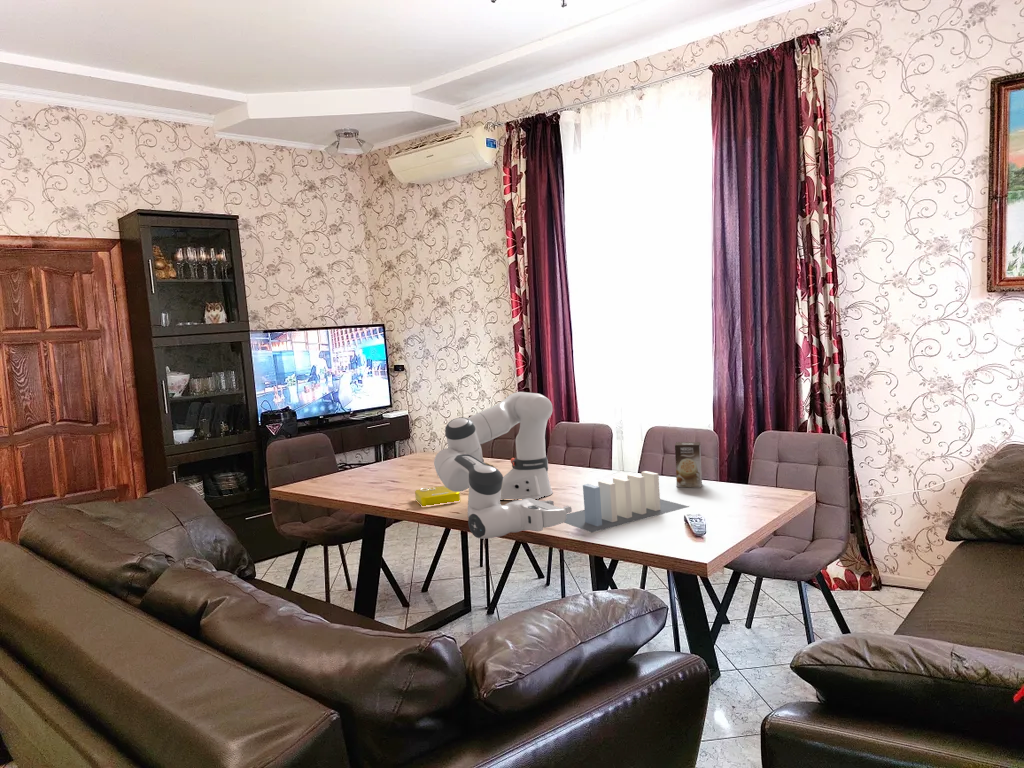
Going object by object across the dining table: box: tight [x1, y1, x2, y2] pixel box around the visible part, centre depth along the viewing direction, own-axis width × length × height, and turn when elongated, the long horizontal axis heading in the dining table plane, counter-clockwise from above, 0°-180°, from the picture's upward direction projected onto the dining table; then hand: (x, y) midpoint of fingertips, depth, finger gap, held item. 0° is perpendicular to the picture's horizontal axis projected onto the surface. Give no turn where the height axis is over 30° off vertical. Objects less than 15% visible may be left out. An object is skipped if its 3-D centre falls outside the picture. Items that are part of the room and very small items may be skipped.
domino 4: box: [640, 470, 661, 511], centre depth 229 cm, size 2×6×12 cm, turn 30°
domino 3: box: [626, 473, 646, 514], centre depth 226 cm, size 2×6×12 cm, turn 30°
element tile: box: [414, 485, 461, 506], centre depth 266 cm, size 15×15×5 cm
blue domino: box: [582, 483, 602, 526], centre depth 217 cm, size 2×6×12 cm, turn 31°
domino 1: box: [597, 480, 617, 522], centre depth 220 cm, size 2×6×12 cm, turn 30°
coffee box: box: [674, 441, 703, 488], centre depth 260 cm, size 9×6×16 cm
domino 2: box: [612, 477, 632, 518], centre depth 223 cm, size 2×6×12 cm, turn 30°
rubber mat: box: [563, 498, 690, 534], centre depth 228 cm, size 40×22×1 cm, turn 121°
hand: (561, 505), depth 211 cm, fingers open, 8 cm apart
